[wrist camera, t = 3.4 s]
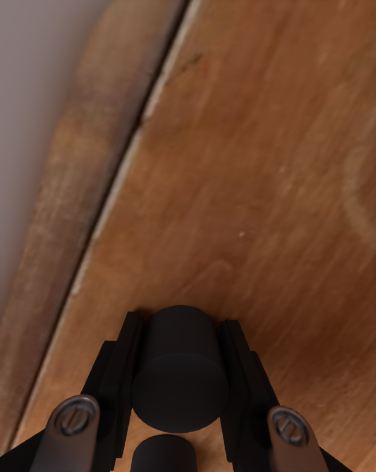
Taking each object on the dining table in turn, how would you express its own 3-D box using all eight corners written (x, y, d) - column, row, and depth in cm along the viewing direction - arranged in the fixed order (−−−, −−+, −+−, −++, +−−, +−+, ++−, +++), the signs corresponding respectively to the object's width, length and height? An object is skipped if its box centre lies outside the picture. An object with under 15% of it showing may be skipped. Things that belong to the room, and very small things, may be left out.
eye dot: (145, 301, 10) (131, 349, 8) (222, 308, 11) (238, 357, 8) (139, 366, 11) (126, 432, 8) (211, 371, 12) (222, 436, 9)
